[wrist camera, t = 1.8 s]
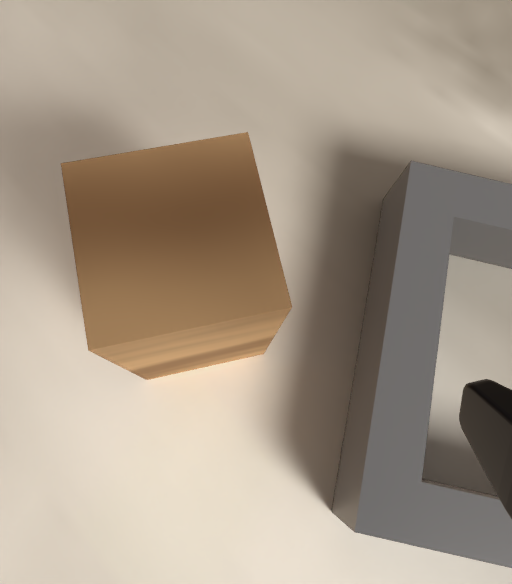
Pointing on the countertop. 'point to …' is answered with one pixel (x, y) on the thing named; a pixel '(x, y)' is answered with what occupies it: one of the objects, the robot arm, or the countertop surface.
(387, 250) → the collar
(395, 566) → the countertop surface
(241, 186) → the oak block
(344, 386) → the countertop surface
